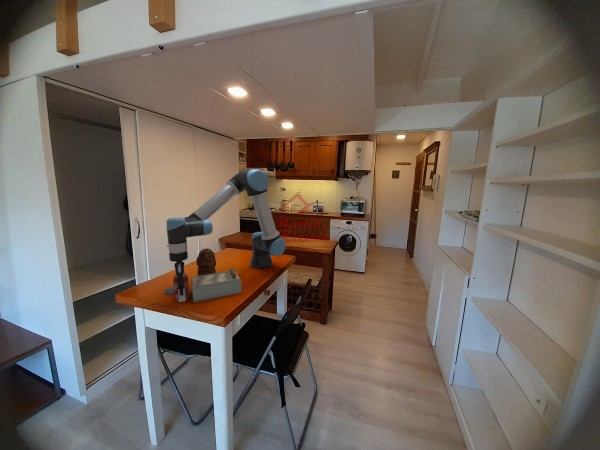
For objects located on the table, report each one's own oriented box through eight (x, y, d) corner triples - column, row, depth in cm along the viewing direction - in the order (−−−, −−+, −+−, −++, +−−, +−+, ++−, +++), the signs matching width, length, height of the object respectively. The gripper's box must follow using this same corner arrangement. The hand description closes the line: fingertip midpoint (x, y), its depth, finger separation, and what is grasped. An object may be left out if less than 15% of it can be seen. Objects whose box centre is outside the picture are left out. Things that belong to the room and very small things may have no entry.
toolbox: (235, 282, 124) (235, 269, 123) (241, 292, 113) (240, 278, 112) (192, 291, 114) (191, 277, 113) (193, 302, 103) (192, 287, 101)
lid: (235, 272, 122) (234, 266, 122) (239, 280, 112) (239, 273, 112) (192, 279, 112) (191, 273, 112) (193, 288, 102) (192, 281, 102)
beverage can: (178, 295, 109) (176, 272, 107) (191, 295, 110) (190, 272, 108) (172, 302, 103) (170, 277, 101) (186, 301, 103) (184, 277, 101)
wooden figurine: (206, 283, 124) (204, 252, 121) (196, 281, 125) (194, 251, 122) (218, 275, 135) (217, 246, 132) (209, 274, 136) (207, 245, 133)
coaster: (184, 285, 120) (184, 284, 120) (184, 292, 112) (184, 291, 112) (165, 288, 116) (164, 288, 116) (163, 296, 108) (163, 295, 108)
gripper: (169, 247, 109) (173, 291, 113) (167, 258, 92) (172, 309, 96) (186, 245, 112) (190, 288, 116) (187, 255, 96) (191, 305, 100)
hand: (182, 297), depth 106 cm, fingers closed on beverage can, 6 cm apart
